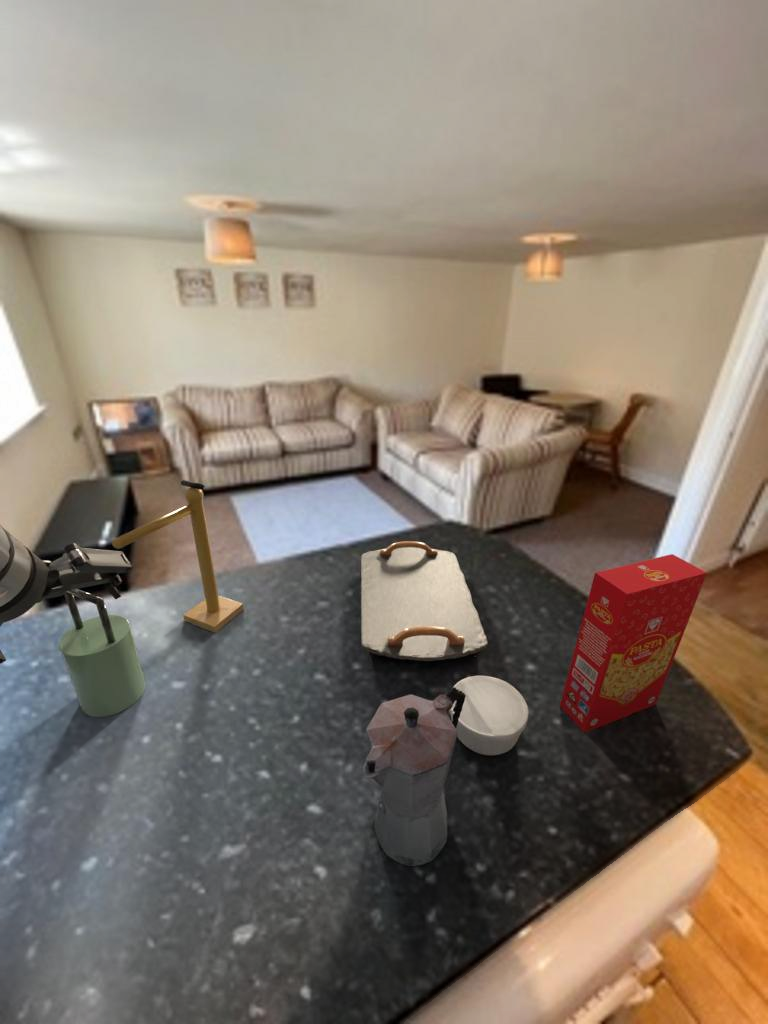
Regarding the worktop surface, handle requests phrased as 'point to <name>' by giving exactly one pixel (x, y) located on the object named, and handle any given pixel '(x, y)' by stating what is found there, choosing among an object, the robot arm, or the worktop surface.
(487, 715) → the ramekin
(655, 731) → the worktop surface
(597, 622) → the food packaging
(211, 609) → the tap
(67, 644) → the green hanging weight
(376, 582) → the serving tray
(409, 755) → the moka pot
